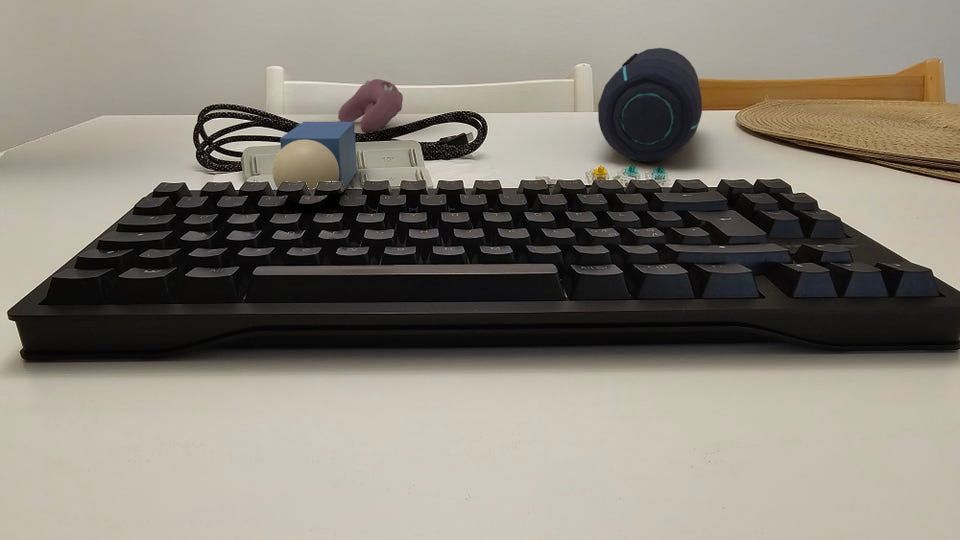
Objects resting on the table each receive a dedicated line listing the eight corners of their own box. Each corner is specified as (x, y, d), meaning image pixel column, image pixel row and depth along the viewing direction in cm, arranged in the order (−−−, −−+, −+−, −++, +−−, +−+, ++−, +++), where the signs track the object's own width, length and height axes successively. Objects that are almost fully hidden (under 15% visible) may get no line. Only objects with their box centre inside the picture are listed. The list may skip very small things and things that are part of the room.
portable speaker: (613, 125, 90) (620, 45, 86) (693, 129, 87) (703, 46, 84) (589, 166, 67) (596, 59, 63) (696, 173, 65) (709, 63, 61)
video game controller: (392, 145, 84) (415, 91, 83) (359, 131, 81) (382, 75, 80) (364, 132, 92) (384, 83, 91) (333, 119, 89) (354, 68, 88)
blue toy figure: (305, 173, 64) (268, 212, 52) (301, 119, 62) (261, 145, 50) (359, 173, 64) (335, 212, 52) (356, 119, 63) (331, 145, 50)
